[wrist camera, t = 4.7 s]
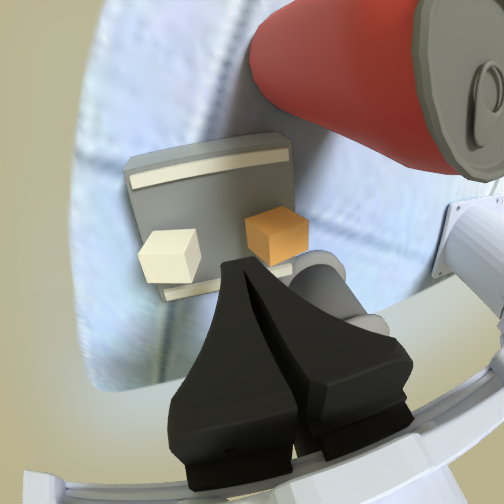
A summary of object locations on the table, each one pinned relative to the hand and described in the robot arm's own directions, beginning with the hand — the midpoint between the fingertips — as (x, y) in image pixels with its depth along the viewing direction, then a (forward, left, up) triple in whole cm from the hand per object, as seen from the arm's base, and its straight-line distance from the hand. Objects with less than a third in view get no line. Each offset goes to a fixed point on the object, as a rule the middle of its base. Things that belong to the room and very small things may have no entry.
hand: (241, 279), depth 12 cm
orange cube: (-2, 0, -4) cm, 5 cm away
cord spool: (-6, +7, -7) cm, 11 cm away
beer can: (-6, -8, -7) cm, 12 cm away
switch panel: (0, 0, -7) cm, 7 cm away
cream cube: (+2, 0, -4) cm, 5 cm away
